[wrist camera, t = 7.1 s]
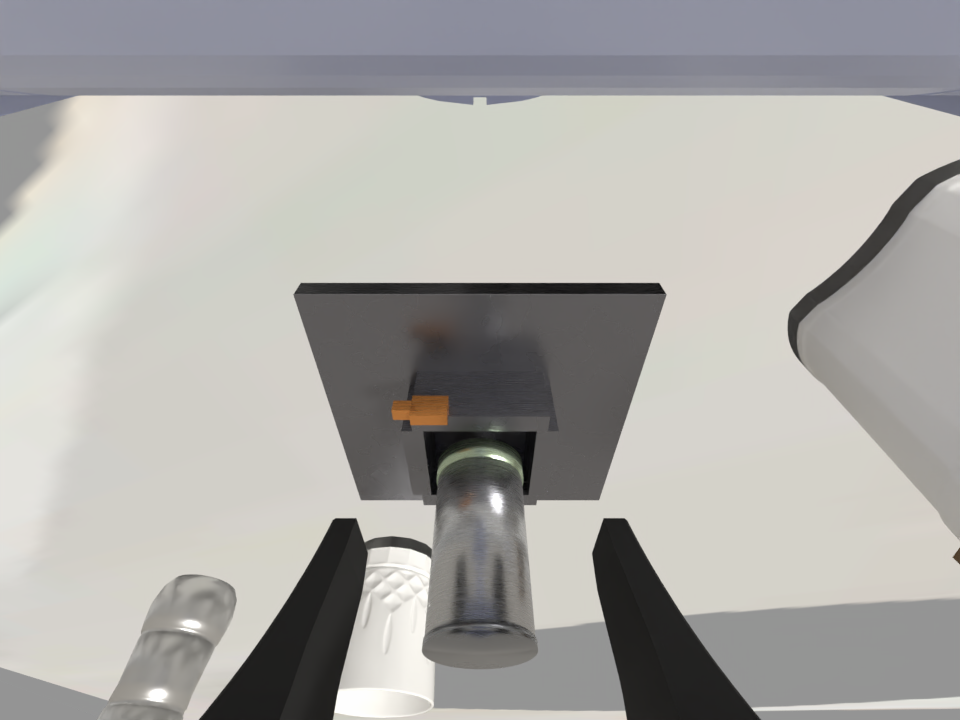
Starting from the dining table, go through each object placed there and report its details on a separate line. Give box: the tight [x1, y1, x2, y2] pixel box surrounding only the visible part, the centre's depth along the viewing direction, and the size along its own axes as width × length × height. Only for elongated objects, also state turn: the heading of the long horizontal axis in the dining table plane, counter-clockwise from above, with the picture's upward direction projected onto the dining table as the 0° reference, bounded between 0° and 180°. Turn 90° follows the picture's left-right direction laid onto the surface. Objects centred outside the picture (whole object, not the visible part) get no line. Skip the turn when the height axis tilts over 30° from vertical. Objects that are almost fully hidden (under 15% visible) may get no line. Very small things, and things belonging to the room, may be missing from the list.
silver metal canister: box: [422, 437, 538, 669], centre depth 18 cm, size 4×4×8 cm
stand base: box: [293, 283, 667, 505], centre depth 22 cm, size 16×16×4 cm
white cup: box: [334, 536, 435, 718], centre depth 32 cm, size 8×8×10 cm
